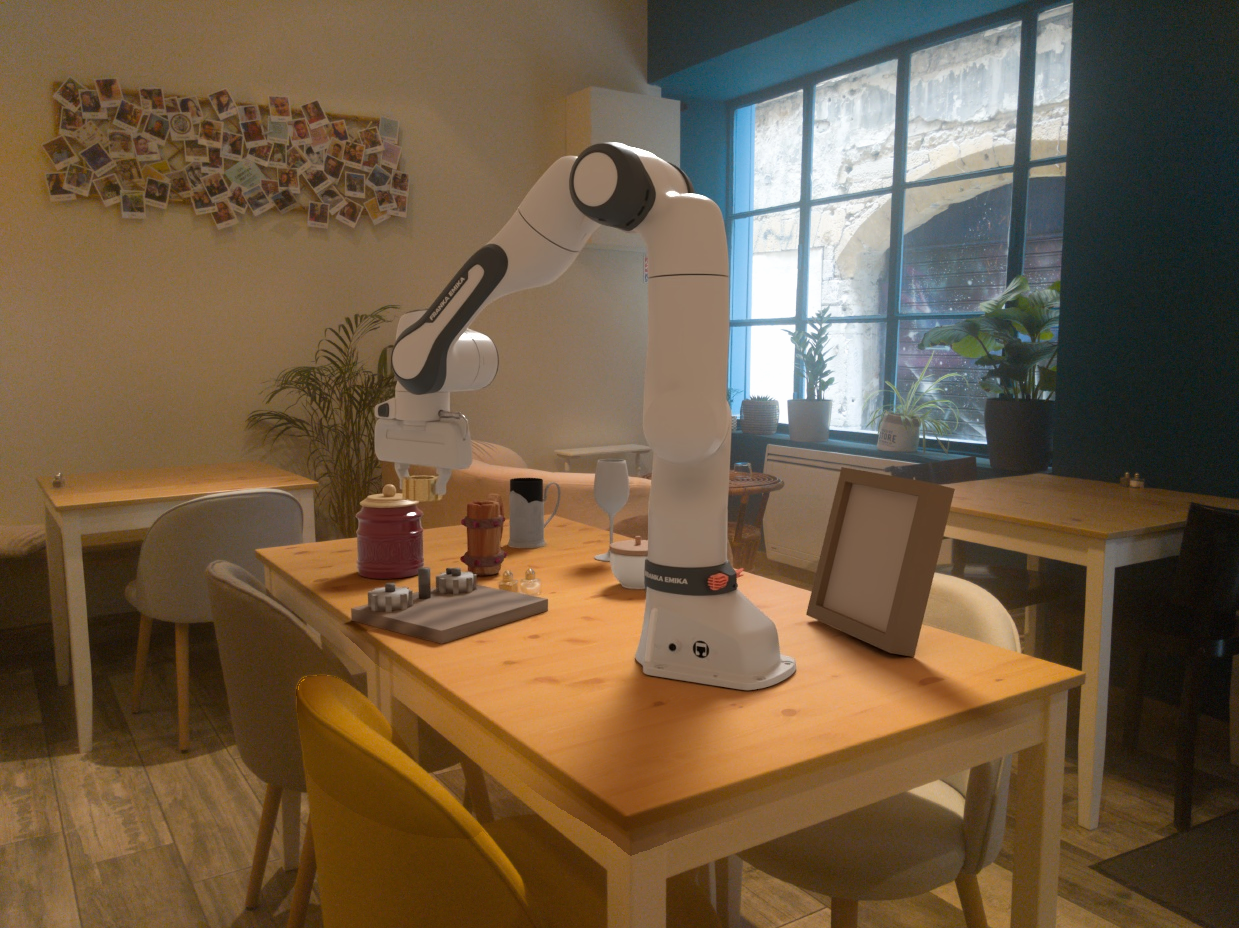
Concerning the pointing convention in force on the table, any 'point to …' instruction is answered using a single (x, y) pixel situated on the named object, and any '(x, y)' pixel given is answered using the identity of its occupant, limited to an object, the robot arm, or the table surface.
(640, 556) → the lidded jar
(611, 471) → the wineglass
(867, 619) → the photo frame
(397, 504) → the canister
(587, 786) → the table surface
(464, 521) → the mug
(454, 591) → the gear board
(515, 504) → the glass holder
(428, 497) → the brass gear
